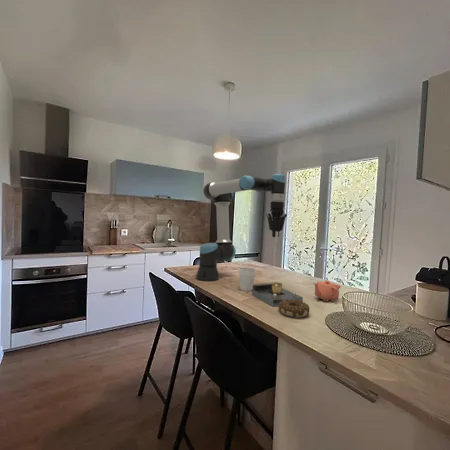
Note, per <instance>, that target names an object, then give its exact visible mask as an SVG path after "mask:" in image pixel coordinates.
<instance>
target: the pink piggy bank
mask: <svg viewBox="0 0 450 450" xmlns="http://www.w3.org/2000/svg"><path fill="white" fill-rule="evenodd" d="M312 284H314V287H315V288H314V295H315V297H317V299H318V300H323V302H324V303H328V302H329V300H331V301H332V302H336V300H338V299H339V297H340V292H339V290H340V289H341V285H340V284H336V283H333V282H331V281H330V280H325V281H317V283H316V282H313V283H312Z"/></svg>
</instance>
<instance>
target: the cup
mask: <svg viewBox="0 0 450 450" xmlns="http://www.w3.org/2000/svg"><path fill="white" fill-rule="evenodd" d="M255 271H256V270H255V268H253V267H240V268H239V274H238V275H239V284H240V285H239V286H240V290H241V291H245V292H248V291H249V292H252V289H253V285H254V281H255V274H256V272H255Z"/></svg>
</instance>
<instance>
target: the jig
mask: <svg viewBox="0 0 450 450" xmlns="http://www.w3.org/2000/svg"><path fill="white" fill-rule="evenodd" d="M251 295H252V296H253V297H255V298H257V299H259V300H261V301H262V302H264V303H266V304H268V305H269V306H271V307H273V308H274V307H279V304H280V302H281V301H282V300H291V299H292V300H299V301H303V299H304V297H303V296H301V295H299V294H297V292H296V291H290V290H288V289H285V288H283V287H282V291H281V295H277V294H272V283H264V284H253V287H252V290H251ZM303 302H304V301H303Z"/></svg>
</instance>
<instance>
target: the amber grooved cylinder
mask: <svg viewBox="0 0 450 450" xmlns="http://www.w3.org/2000/svg"><path fill="white" fill-rule="evenodd" d="M271 284H272V294H277V295H281V291H282V288H283V283H281V282H272V283H271Z"/></svg>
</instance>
